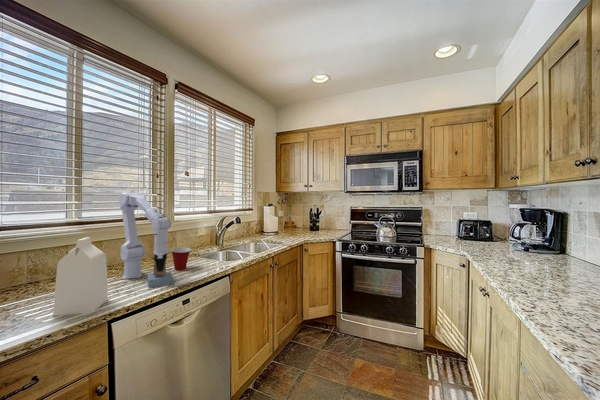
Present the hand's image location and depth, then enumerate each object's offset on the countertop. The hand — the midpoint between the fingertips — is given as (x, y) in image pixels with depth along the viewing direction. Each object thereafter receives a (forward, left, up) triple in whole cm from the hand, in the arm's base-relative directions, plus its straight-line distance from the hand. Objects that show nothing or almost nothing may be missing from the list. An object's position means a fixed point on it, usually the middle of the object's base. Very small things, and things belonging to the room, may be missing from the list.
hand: (160, 269), depth 121 cm
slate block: (0, 0, -7) cm, 7 cm away
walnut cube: (0, 0, -2) cm, 2 cm away
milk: (+18, -25, -7) cm, 32 cm away
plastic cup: (-21, +10, -7) cm, 24 cm away
